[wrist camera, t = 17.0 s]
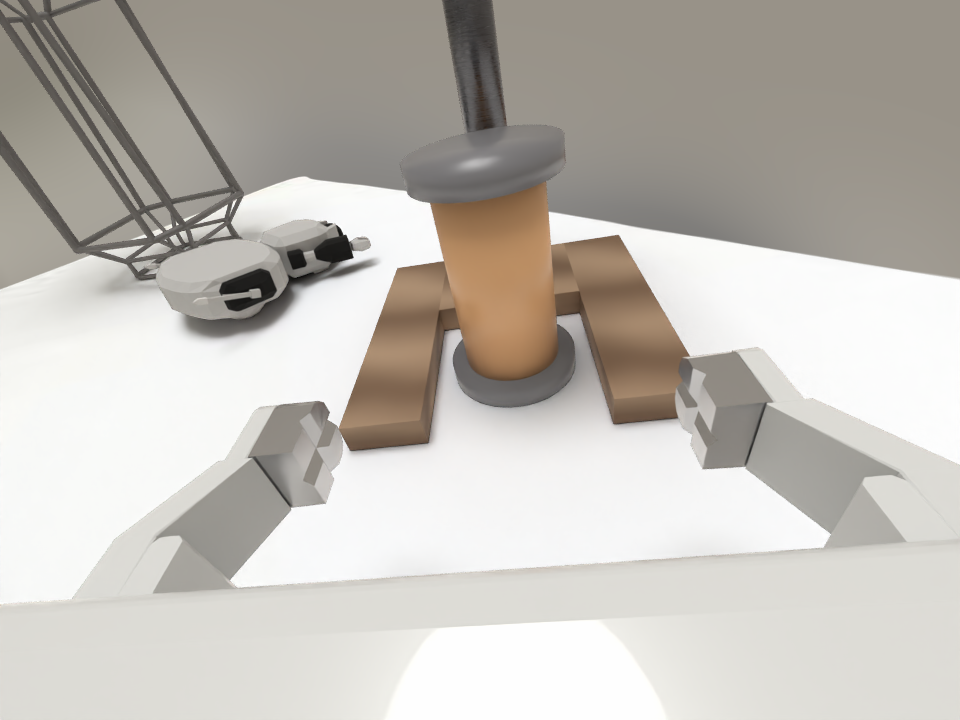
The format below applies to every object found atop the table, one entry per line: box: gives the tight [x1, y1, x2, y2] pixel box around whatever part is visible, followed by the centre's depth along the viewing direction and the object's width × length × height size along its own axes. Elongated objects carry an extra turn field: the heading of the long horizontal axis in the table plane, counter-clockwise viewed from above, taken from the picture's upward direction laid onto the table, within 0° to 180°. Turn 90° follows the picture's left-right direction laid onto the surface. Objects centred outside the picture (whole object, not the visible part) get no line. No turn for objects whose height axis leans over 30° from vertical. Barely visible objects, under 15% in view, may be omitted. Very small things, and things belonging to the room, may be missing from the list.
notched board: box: [339, 235, 690, 451], centre depth 26 cm, size 16×16×2 cm
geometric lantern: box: [0, 0, 244, 280], centre depth 36 cm, size 16×16×35 cm
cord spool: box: [400, 125, 575, 407], centre depth 20 cm, size 6×6×11 cm
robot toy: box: [144, 219, 371, 320], centre depth 36 cm, size 12×4×15 cm
